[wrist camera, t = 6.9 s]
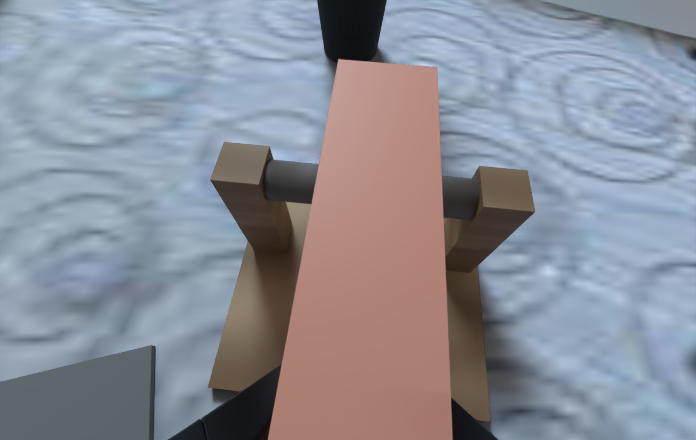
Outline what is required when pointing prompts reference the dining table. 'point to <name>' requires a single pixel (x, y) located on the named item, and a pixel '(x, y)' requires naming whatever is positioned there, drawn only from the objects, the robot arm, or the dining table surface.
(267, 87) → the dining table surface
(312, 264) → the c link
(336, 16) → the drinking cup
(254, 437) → the robot arm
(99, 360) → the mat
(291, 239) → the stand
